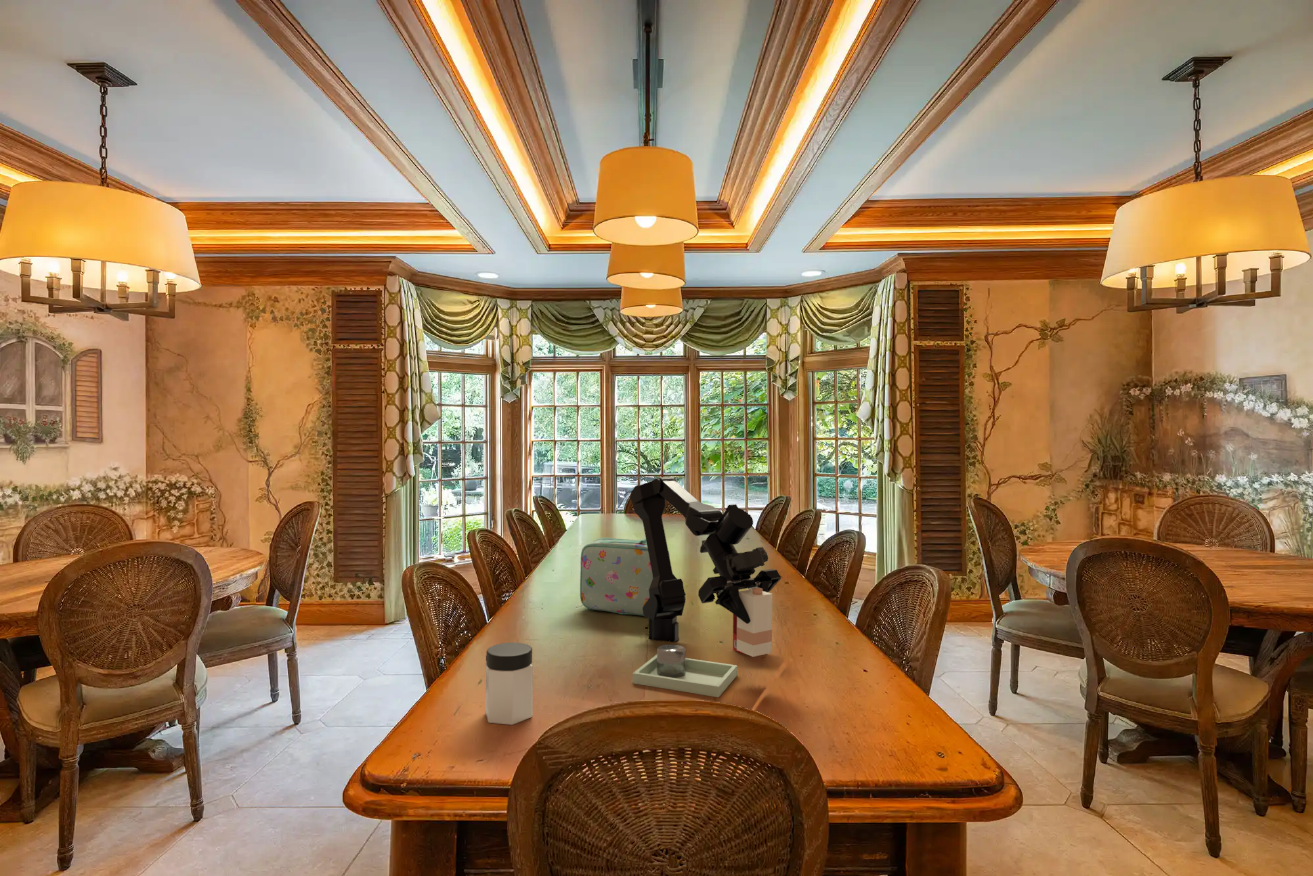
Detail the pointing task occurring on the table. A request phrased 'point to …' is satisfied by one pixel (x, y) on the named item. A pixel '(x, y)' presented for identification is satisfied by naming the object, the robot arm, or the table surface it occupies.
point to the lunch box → (615, 575)
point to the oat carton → (755, 623)
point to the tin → (671, 661)
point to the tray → (689, 677)
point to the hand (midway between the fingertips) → (758, 620)
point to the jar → (509, 683)
